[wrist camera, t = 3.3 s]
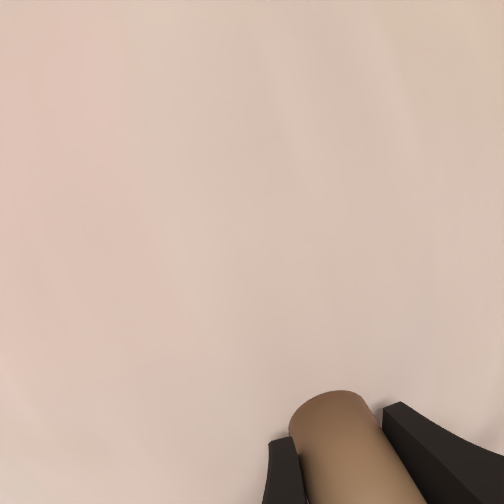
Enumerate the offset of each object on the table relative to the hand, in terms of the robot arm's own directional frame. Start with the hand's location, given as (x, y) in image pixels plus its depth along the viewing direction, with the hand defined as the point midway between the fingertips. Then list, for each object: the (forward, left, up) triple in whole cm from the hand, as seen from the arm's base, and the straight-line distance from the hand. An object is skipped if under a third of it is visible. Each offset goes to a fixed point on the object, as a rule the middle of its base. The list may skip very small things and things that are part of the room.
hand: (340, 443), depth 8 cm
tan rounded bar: (0, +7, -1) cm, 7 cm away
